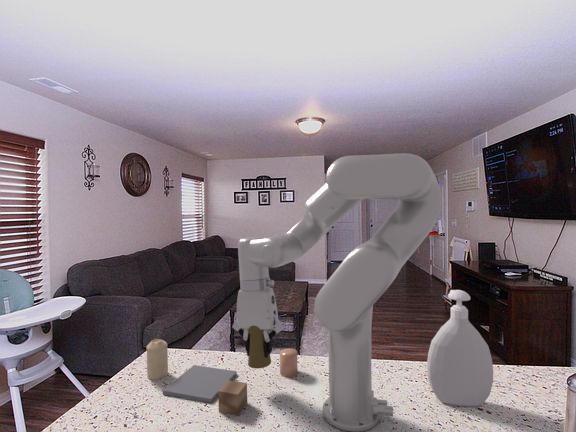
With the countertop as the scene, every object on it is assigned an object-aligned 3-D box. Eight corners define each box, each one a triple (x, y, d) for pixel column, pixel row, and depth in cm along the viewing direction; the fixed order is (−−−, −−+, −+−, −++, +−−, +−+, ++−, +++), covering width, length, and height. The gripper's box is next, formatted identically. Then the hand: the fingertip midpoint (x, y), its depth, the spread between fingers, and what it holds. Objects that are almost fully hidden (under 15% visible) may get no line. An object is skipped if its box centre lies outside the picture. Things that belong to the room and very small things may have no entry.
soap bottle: (484, 393, 82) (484, 286, 81) (499, 413, 74) (499, 294, 73) (423, 388, 84) (422, 284, 84) (430, 407, 76) (429, 292, 76)
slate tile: (236, 374, 93) (236, 371, 93) (211, 403, 79) (211, 399, 79) (194, 368, 97) (193, 365, 97) (162, 394, 84) (162, 390, 83)
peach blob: (299, 369, 95) (299, 349, 95) (294, 378, 90) (294, 357, 90) (283, 367, 96) (282, 347, 96) (277, 376, 92) (277, 355, 92)
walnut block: (247, 403, 79) (247, 383, 79) (238, 416, 74) (237, 394, 74) (228, 400, 81) (228, 380, 81) (218, 412, 76) (218, 391, 76)
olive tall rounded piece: (267, 368, 81) (265, 324, 81) (244, 368, 82) (242, 324, 82) (273, 358, 87) (271, 317, 87) (252, 357, 88) (249, 317, 88)
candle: (172, 373, 94) (171, 338, 94) (155, 381, 90) (154, 345, 89) (160, 368, 97) (159, 335, 97) (143, 376, 93) (142, 341, 92)
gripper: (289, 281, 86) (294, 350, 86) (232, 281, 91) (236, 346, 91) (280, 288, 79) (285, 363, 79) (219, 287, 84) (223, 358, 84)
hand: (259, 353), depth 85 cm, fingers closed on olive tall rounded piece, 4 cm apart
